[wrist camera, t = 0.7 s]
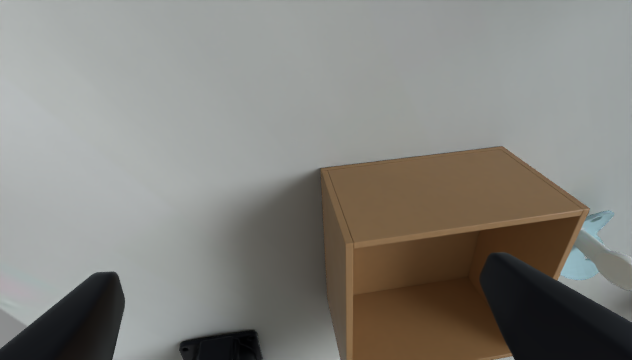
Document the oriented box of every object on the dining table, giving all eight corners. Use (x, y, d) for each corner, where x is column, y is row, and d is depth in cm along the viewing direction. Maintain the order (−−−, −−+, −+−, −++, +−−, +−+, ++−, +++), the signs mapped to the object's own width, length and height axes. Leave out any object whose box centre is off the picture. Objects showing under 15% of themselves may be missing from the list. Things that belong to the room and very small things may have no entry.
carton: (468, 275, 31) (523, 354, 24) (327, 298, 29) (346, 387, 23) (502, 145, 24) (590, 208, 18) (320, 167, 22) (345, 244, 16)
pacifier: (524, 272, 32) (588, 252, 31) (575, 333, 26) (653, 310, 26) (526, 213, 28) (600, 190, 27) (586, 271, 22) (679, 243, 22)
